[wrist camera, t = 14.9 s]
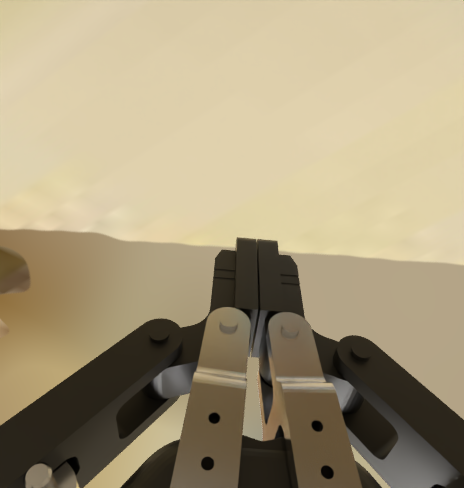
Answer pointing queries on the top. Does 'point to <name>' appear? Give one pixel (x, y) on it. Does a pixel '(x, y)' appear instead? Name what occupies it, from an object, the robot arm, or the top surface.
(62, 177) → the top surface
